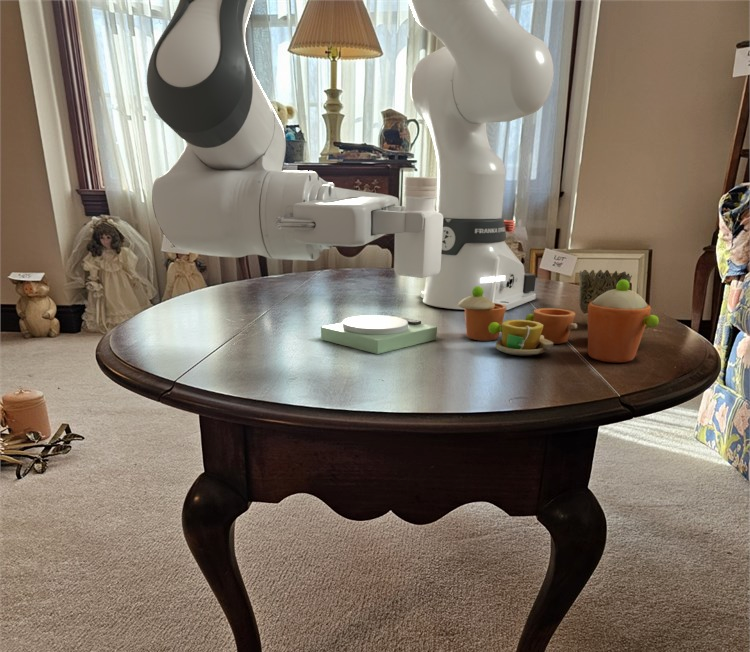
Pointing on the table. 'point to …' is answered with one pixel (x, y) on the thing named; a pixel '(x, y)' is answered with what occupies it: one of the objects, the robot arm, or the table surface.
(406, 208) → the white square bottle
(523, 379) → the table surface
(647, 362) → the table surface
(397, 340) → the scale
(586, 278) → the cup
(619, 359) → the toy tea set
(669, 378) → the table surface
